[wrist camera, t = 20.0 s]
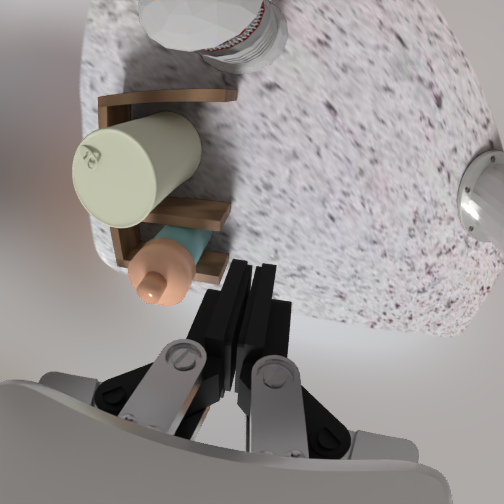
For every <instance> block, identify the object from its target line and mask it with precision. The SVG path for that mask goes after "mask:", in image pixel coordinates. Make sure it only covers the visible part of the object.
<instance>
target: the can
mask: <svg viewBox="0 0 504 504" xmlns="http://www.w3.org/2000/svg"><path fill="white" fill-rule="evenodd" d="M201 153H202V147H201V141H200V138H199V135H198V133H197V131H196V129H195V127H194V126H193V125H192V124H191V123H190V122H189V121H188V120H187V119H186V118H184V117H183V116H181V115H179V114H176V113H173V112H157V113H154V114H151V115H149V116H147V117H144V118H140V119H136V120H132V121H129V122H125V123H122V124H118V125H114V126H111V127H107V128H101V129H98V130H95V131H93V132H92V133H90V134H89V135H87V136H86V137H85V138H84V139H83V140H82V142H81V143H80V145H79V146H78V148H77V150H76V153H75V156H74V159H73V165H72V176H73V183H74V187H75V190H76V193H77V195H78V198H79V200H80V201H81V203H82V205H83V206H84V208H85V209H86V210H87V211H88V212H89V213H90V214H91V215H92V216H93V217H94V218H95V219H96V220H98V221H99V222H101V223H103V224H105V225H107V226H110V227H115V228H128V227H132V226H134V225H137V224H138V223H140V222H141V221H143V220H144V219H145V218H146V217H147V216H148V214H149V213H150V212H151V211H152V210H153V209H154V208H155V207H156V206H157V205H158V204H159V203H160V202H161V201H162V200H163V199H164V198H165V197H166V196H167V195H169V194H170V193H171V192H172V191H173V190H174V189H175V188H176V187H178V186H179V185H180V184H182V183H183V182H185V181H187V180H188V179H189V178H190V177H191V176H192V175H193V174H194V173H195V171H196V170H197V168H198V166H199V163H200V160H201Z"/></svg>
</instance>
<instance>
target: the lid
mask: <svg viewBox="0 0 504 504" xmlns="http://www.w3.org/2000/svg"><path fill="white" fill-rule="evenodd" d="M195 274H196V266H195V262H194V259H193V257H192V256H191V254H190V253H189V252H188V250H187V249H186V248H185V247H184V246H182V245H181V244H179V243H178V242H176V241H174V240H171V239H168V238H154V239H151V240H149V241H148V242H146V243H145V245H144V246H143V247H142V248H141V249H140V250H139V252H138V253H137V254H136V255H135V256H134V258H133V259H132V260H131V261H130V263H129V266H128V276H129V279H130V281H131V284H132V285H133V287H134V288H135V290H136V291H137V294H138V296H139V297H140V298H141V299H142V300H143V301H144V302H146V303H149V304H158V305H162V306H172V305H175V304H178V303H180V302H181V301H182V300H183V299H184V297H185V295H186V293H187V291H188V289H189V287H190V285H191V283H192V281H193V279H194V277H195Z"/></svg>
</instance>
